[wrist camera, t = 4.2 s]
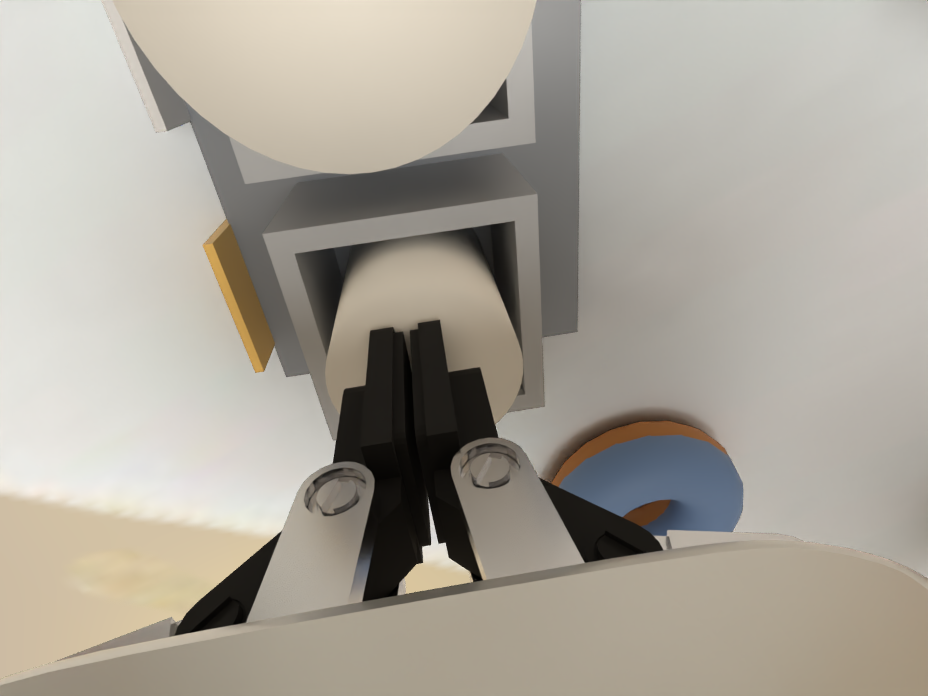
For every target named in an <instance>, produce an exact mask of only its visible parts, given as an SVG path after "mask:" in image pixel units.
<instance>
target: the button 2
mask: <svg viewBox="0 0 928 696" xmlns="http://www.w3.org/2000/svg"><path fill="white" fill-rule="evenodd" d="M434 320H440V323H441V330H442V336H443V342H444V348H445V355H446V361H447V367H448V372H451V371H458V370H464V369H470V368H476V367H480V368H481V372H482V376H483V379H484V383H485V387H486V391H487V395H488V399H489V403H490V407H491V411H492V415H493V419H494V422H495V424H496V423H497V422H498V421H499V420H500V419H501V418H502V417H503V416H504V415H505V414H506V413H507V411H508V410H509V408H510V407H511V406H512V404H513V402H514V400H515V398H516V396H517V394H518V392H519V389H520V386H521V382H522V376H523V358H522V352H521V348H520V345H519V342H518V339H517V337H516V334H515V332H514V329H513V326H512V324H511V321H510V319H509V316H508V314H507V311H506V308H505V306H504V303H503V301H502V298H501V295H500V293H499V290H498V288H497V285H496V283H495V280H494V277H493V275H492V272H491V270H490V267H489V264H488V262H487V259H486V257H485V254H484V252H483V249H482V246H481V244H480V241H479V239H478V237H477V235H476V233H475V231H474V230H473V228H472V227H471V228H464V229H457V230H450V231H444V232H437V233H430V234H423V235H417V236H410V237H403V238H396V239H389V240H383V241H376V242H369V243H362V244H356V245H352V247H351V251H350V256H349V260H348V265H347V269H346V274H345V278H344V283H343V287H342V292H341V296H340V301H339V305H338V310H337V314H336V319H335V323H334V328H333V332H332V337H331V341H330V346H329V350H328V355H327V359H326V367H325V378H326V386H327V390H328V394H329V396H330V399H331V401H332V403H333V405H334V407H335V408H336V410H337V412H338V413H339V414H340V410H341V403H342V396H343V392H344V389H346V388H352V387H358V386H364V385H365V384H366V372H367V360H368V348H369V336H370V331H371V330H377V329H383V328H389V327H393V328H394V331H395V333H396V332H402V331H403V333H404V337H405V342H406V347H407V352H408V356H409V361H410V366H411V347H410V330H415V329H418V323H421V322H428V321H434ZM411 371H412V367H411Z"/></svg>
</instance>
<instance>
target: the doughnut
mask: <svg viewBox="0 0 928 696" xmlns="http://www.w3.org/2000/svg"><path fill="white" fill-rule="evenodd" d="M552 484H553V485H555V486H557V487H559V488H562V489H564V490H566V491H568V492H570V493H572V494H574V495H576V496H578V497H581V498H583V499H585V500H587V501H589V502H591V503H593V504H595V505H597V506H600V507H602V508H604V509H606V510H608V511H610V512H612V513H614V514H616V515H619V516H621V517H623V518H625V519H627V520H629V521H631V522H633V523H635V524H638V525H639V526H641V527H642V528H644V529H646V530H647V531H649V532H650V533H651V534H652V535H653V536H667V530H684V531H714V532H733V530H734V528H735V526H736V524H737V522H738V520H739V518H740V515H741V513H742V509H743V483H742V481H741V479H740V477H739V475H738V473H737V471H736V469H735V467H734V465H733V463H732V461H731V459H730V457H729V456H728V454H727V452H726V450H725V448H724V447H722V446H721V445H720V444H719V443H718V442H717V441H715V440H714V439H712V438H711V437H709V436H708V435H707V434H705V433H704V432H702V431H701V430H700V429H697V428H694V427H691V426H687V425H683V424H679V423H675V422H671V421H650V422H637V423H633V424H630V425H626V426H623V427H619V428H615V429H612V430H609V431H607V432H605V433H604V434H602V435H600V436H598V437H596V438H594V439H592V440H591V441H589V442H587V443H585V444H584V445H583V446H582V447H581V448H580V449H579V450H577V451H576V452H575V453H574V454H573V455H572V456H571V457H570V458H569V459H567V460H566V461H565V462H564V464H563V465H562V467H561V468H560V470H559V472H558V473H557V475H556V476H555V478H554V480H553V481H552ZM647 503H648V504H647ZM644 504H646V505H644ZM642 505H643V506H642ZM640 506H641V507H640ZM638 507H639V508H638Z"/></svg>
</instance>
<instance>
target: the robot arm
mask: <svg viewBox="0 0 928 696" xmlns="http://www.w3.org/2000/svg"><path fill="white" fill-rule="evenodd" d="M410 347H411V366H410V361H409V356H408V352H407V347H406V342H405V337H404V333H403V331H402V332H396V333H395V331H394V328H393V327H389V328H383V329H377V330H371V331H370V336H369V348H368V360H367V372H366V384H365V385H364V386H358V387H352V388H346V389H344V392H343V396H342V403H341V410H340V417H339V424H338V431H337V438H336V445H335V452H334V459H333V464H331V465H328V466H326V467H323V468H321V469H319V470H318V471H316V472H315V473H313V474H312V475H310V476H309V477H308V478H307V479H306V480H305V481H304V482H303V484H302V485H301V487H300V489H299V490H298V492H297V494H296V497H295V500H294V502H293V505H292V507H291V510H290V512H289V515H288V517H287V520H286V522H285V525H284V528H283V530H282V531H281V532H280V533H279V534H277V535H276V536H275V537H274V538H273V539H272V540H270V541H269V542H268V543H267V544H266V545H264V546H263V547H262V548H261V549H260V550H259V551H257V552H256V553H255V554H254V555H253V556H251V557H250V558H249V559H248V560H247V561H246V562H244V563H243V564H242V565H241V566H240V567H238V568H237V569H236V570H235V571H234V572H233V573H231V574H230V575H229V576H228V577H227V578H225V579H224V580H223V581H222V582H221V583H219V584H218V585H217V586H216V587H215V588H214V589H212V590H211V591H210V592H209V593H208V594H206V595H205V596H204V597H203V598H202V599H201V600H199V601H198V602H197V603H196V604H195V605H194V606H193V607H192V608H191V609H190V610H189V611H188V612H187V613H186V615H185V617H184V618H183V620H181V621H178V622H175V621H174V620H173V618H172V617H170V618H168V619H165V620H162V621H160V622H157V623H155V624H152V625H149V626H147V627H144V628H141V629H139V630H136V631H133V632H131V633H128V634H126V635H123V636H120V637H118V638H115V639H112V640H110V641H107V642H105V643H102V644H100V645H97V646H94V647H91V648H89V649H86V650H84V651H81V652H78V653H76V654H73V655H71V656H68V657H65V658H63V659H60V660H57V661H55V662H52V663H48V664H45V665H42V666H38V667H35V668H32V669H28V670H25V671H22V672H19V673H15V674H12V675H9V676H6V677H4V678H1V679H0V696H928V578H926V577H924V576H923V575H921V574H919V573H917V572H916V571H914V570H912V569H910V568H908V567H906V566H903V565H901V564H899V563H896V562H894V561H892V560H889V559H886V558H882V557H879V556H876V555H873V554H870V553H866V552H862V551H858V550H854V549H850V548H844V547H838V546H832V545H826V544H820V543H813V542H804V541H802V540H800V539H798V538H796V537H793V536H788V535H782V534H773V533H743V532H714V531H684V530H667V536H653V535H652V534H651V533H650V532H649V531H647V530H646V529H644V528H642V527H641V526H639V525H638V524H635V523H633V522H631V521H629V520H627V519H625V518H623V517H621V516H619V515H616V514H614V513H612V512H610V511H608V510H606V509H604V508H602V507H600V506H597V505H595V504H593V503H591V502H589V501H587V500H585V499H583V498H581V497H578V496H576V495H574V494H572V493H570V492H568V491H566V490H564V489H562V488H559V487H557V486H555V485H553V484H551V483H549V482H547V481H545V480H543V479H540V478H539V477H538V475H537V473H536V472H535V470H534V468H533V466H532V464H531V462H530V460H529V459H528V457H527V455H526V454H525V452H524V451H523V450H522V449H521V447H519V446H518V445H516V444H515V443H513V442H512V441H508V440H505V439H502V438H498V434H497V430H496V426H495V422H494V419H493V415H492V411H491V407H490V403H489V399H488V395H487V391H486V387H485V383H484V379H483V376H482V372H481V368H480V367H476V368H470V369H464V370H458V371H451V372H448V367H447V361H446V355H445V348H444V342H443V336H442V330H441V323H440V320H434V321H428V322H421V323H418V329H415V330H410ZM411 367H412V371H411ZM428 498H429V503H430V507H431V512H432V516H433V521H434V525H435V530H436V534H437V539H438V543H439V544H440V543H445V542H446V546H447V551H448V556H449V558H450V559H452V560H453V561H455V562H456V563H458V564H459V565H461V566H462V567H464V568H465V569H467V570H469V575H470V580H471V583H466V584H460V585H454V586H449V587H443V588H437V589H432V590H426V591H420V592H414V593H409V594H405V592H406V588H405V579H404V577H405V576H406V575H407V574H408V573H409V572H410V571H411V570H412V568H413V567H414V566H415V565H416V564H420V563H423V555H422V546H428V545H431V533H430V519H429V505H428Z"/></svg>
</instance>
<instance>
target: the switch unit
mask: <svg viewBox="0 0 928 696" xmlns="http://www.w3.org/2000/svg"><path fill="white" fill-rule="evenodd" d="M101 1H102V3H103V6H104V8H105V11H106V13H107V16H108V18H109V20H110V23H111V25H112V28H113V30H114V32H115V35H116V37H117V40H118V42H119V44H120V47H121V49H122V52H123V54H124V57H125V59H126V61H127V64H128V66H129V69H130V71H131V73H132V76H133V78H134V81H135V83H136V85H137V88H138V90H139V93H140V95H141V98H142V100H143V102H144V105H145V107H146V110H147V112H148V114H149V117H150V119H151V122H152V124H153V127H154V129H155V131H156V133H157V132H165V131H169V130H171V129H173V128H176V127H178V126H181V125H183V124H185V123H188V122H191V125H192V128H193V130H194V133H195V136H196V138H197V141H198V144H199V146H200V149H201V151H202V154H203V157H204V159H205V162H206V165H207V167H208V170H209V173H210V175H211V178H212V181H213V183H214V186H215V189H216V191H217V194H218V197H219V199H220V202H221V205H222V207H223V210H224V213H225V215H226V218H227V219H226V220H225V221H224V222H223V223H222V225H221V226H220V227H219V228H218V229H217V230H216V231H215V232H214V233H213V234H212V235H211V236H210V237H209V239H208V240H207V241H206V242H205V243H204V244H203V247H204V250H205V252H206V254H207V257H208V259H209V262H210V264H211V266H212V269H213V271H214V274H215V276H216V279H217V281H218V283H219V286H220V288H221V291H222V293H223V295H224V298H225V300H226V303H227V305H228V307H229V310H230V312H231V315H232V317H233V320H234V322H235V324H236V327H237V329H238V332H239V334H240V336H241V339H242V341H243V344H244V346H245V348H246V351H247V353H248V356H249V358H250V361H251V363H252V365H253V368H254V370H255V373H257V372H264V370H265V368H266V365H267V363H268V360H269V358H270V355H271V353H272V350H273V348H274V346H275V348H276V351H277V354H278V356H279V359H280V362H281V364H282V367H283V370H284V372H285V375H286V377H290V376H297V375H303V374H309V373H310V375H311V378H312V381H313V384H314V386H315V389H316V392H317V395H318V398H319V401H320V404H321V407H322V410H323V413H324V416H325V419H326V421H327V424H328V427H329V430H330V433H331V436H332V439H333V440H336V438H337V431H338V424H339V417H340V414H339V413H338V412H337V410H336V408H335V407H334V405H333V403H332V401H331V399H330V396H329V394H328V390H327V386H326V378H325V367H326V359H327V355H328V350H329V346H330V341H331V337H332V332H333V328H334V323H335V319H336V314H337V310H338V305H339V301H340V296H341V292H342V287H343V283H344V278H345V274H346V269H347V265H348V260H349V256H350V251H351V247H352V245H356V244H362V243H369V242H376V241H383V240H389V239H396V238H403V237H410V236H417V235H423V234H430V233H437V232H444V231H450V230H457V229H464V228H471V227H472V228H473V230H474V231H475V233H476V235H477V237H478V239H479V241H480V244H481V246H482V249H483V252H484V254H485V257H486V259H487V262H488V264H489V267H490V270H491V272H492V275H493V277H494V280H495V283H496V285H497V288H498V290H499V293H500V295H501V298H502V301H503V303H504V306H505V308H506V311H507V314H508V316H509V319H510V321H511V324H512V326H513V329H514V332H515V334H516V337H517V339H518V342H519V345H520V348H521V352H522V358H523V376H522V382H521V386H520V389H519V392H518V394H517V396H516V398H515V400H514V402H513V404H512V406H511V407H510V408H509V410H508V411H507V412H513V411H519V410H526V409H532V408H538V407H544V406H545V404H544V374H543V345H542V337H548V336H554V335H560V334H567V333H573V332H577V320H578V223H579V126H580V30H581V0H537V1H536V5H535V9H534V13H533V18H532V20H531V23H530V26H529V29H528V32H527V34H526V37H525V40H524V43H523V46H522V48H521V50H520V52H519V54H518V56H517V58H516V60H515V62H514V65H513V67H512V69H511V71H510V73H509V74H508V76H507V78H506V79H505V81H504V82H503V84H502V85H501V87H500V88H499V90H498V92H497V93H496V95H495V96H494V98H493V99H492V100H491V101H490V102H489V104H488V105H487V106H486V107H485V108H484V110H483V111H482V112H481V113H480V114H479V116H478V117H477V118H476V119H475V120H474V121H473V122H471V123H470V124H469V125H468V126H467V127H466V128H465V129H464V130H463V131H462V132H461V133H460V134H458V135H457V136H456V137H454V138H453V139H451V140H450V141H449V142H447V143H446V144H444V145H443V146H442V147H440V148H439V149H437V150H435V151H433V152H431V153H429V154H427V155H426V156H424V157H422V158H420V159H418V160H415V161H412V162H410V163H407V164H404V165H401V166H399V167H396V168H391V169H387V170H382V171H377V172H372V173H359V174H336V173H323V172H318V171H312V170H307V169H302V168H298V167H295V166H291V165H288V164H285V163H282V162H279V161H276V160H273V159H271V158H269V157H267V156H265V155H262V154H260V153H258V152H256V151H254V150H251V149H249V148H248V147H246V146H244V145H243V144H241V143H239V142H238V141H236V140H234V139H233V138H231V137H229V136H228V135H226V134H224V133H223V132H222V131H220V130H219V129H218V128H216V127H215V126H214V125H213V124H211V123H210V122H209V121H207V120H206V119H205V118H203V117H202V116H201V115H200V114H199V113H197V112H196V111H195V110H194V109H193V108H192V107H191V106H190V105H189V104H188V103H187V102H186V101H185V100H183V99H182V98H181V97H180V96H179V95H178V94H177V93H176V92H175V91H174V89H173V88H172V87H171V86H170V85H169V84H168V83H167V81H166V80H165V79H164V78H163V77H162V76H161V75H160V74H159V72H158V71H157V70H156V69H155V68H154V66H153V65H152V63H151V62H150V61H149V59H148V58H147V57H146V55H145V54H144V52H143V51H142V50H141V48H140V47H139V45H138V44H137V43H136V41H135V40H134V38H133V37H132V35H131V33H130V31H129V30H128V28H127V26H126V25H125V23H124V21H123V19H122V18H121V16H120V14H119V13H118V11H117V9H116V7H115V5H114V3H113V1H112V0H101Z"/></svg>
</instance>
